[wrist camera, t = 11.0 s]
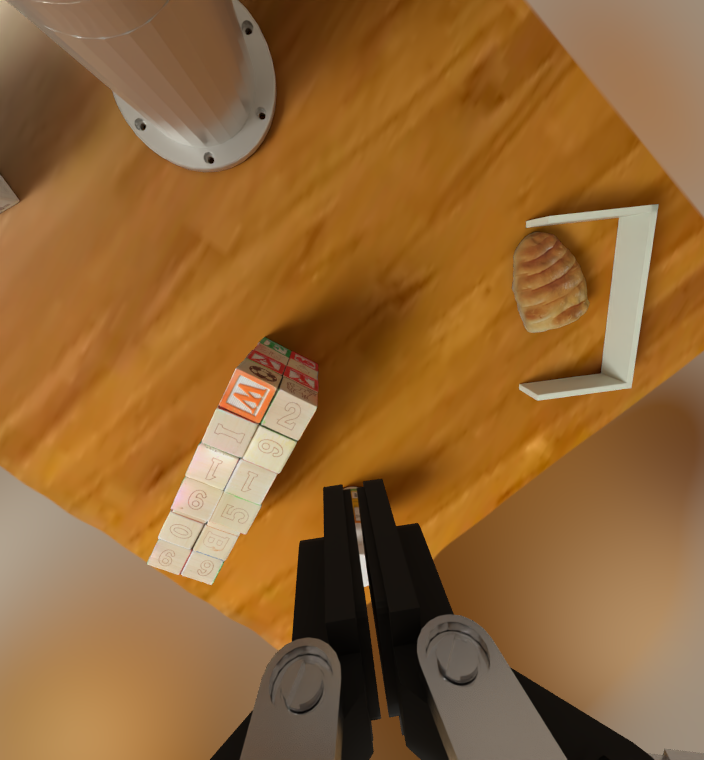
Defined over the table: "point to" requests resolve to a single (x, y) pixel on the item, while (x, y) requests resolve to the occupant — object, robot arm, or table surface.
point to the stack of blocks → (238, 460)
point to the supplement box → (6, 196)
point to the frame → (611, 302)
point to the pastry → (547, 283)
